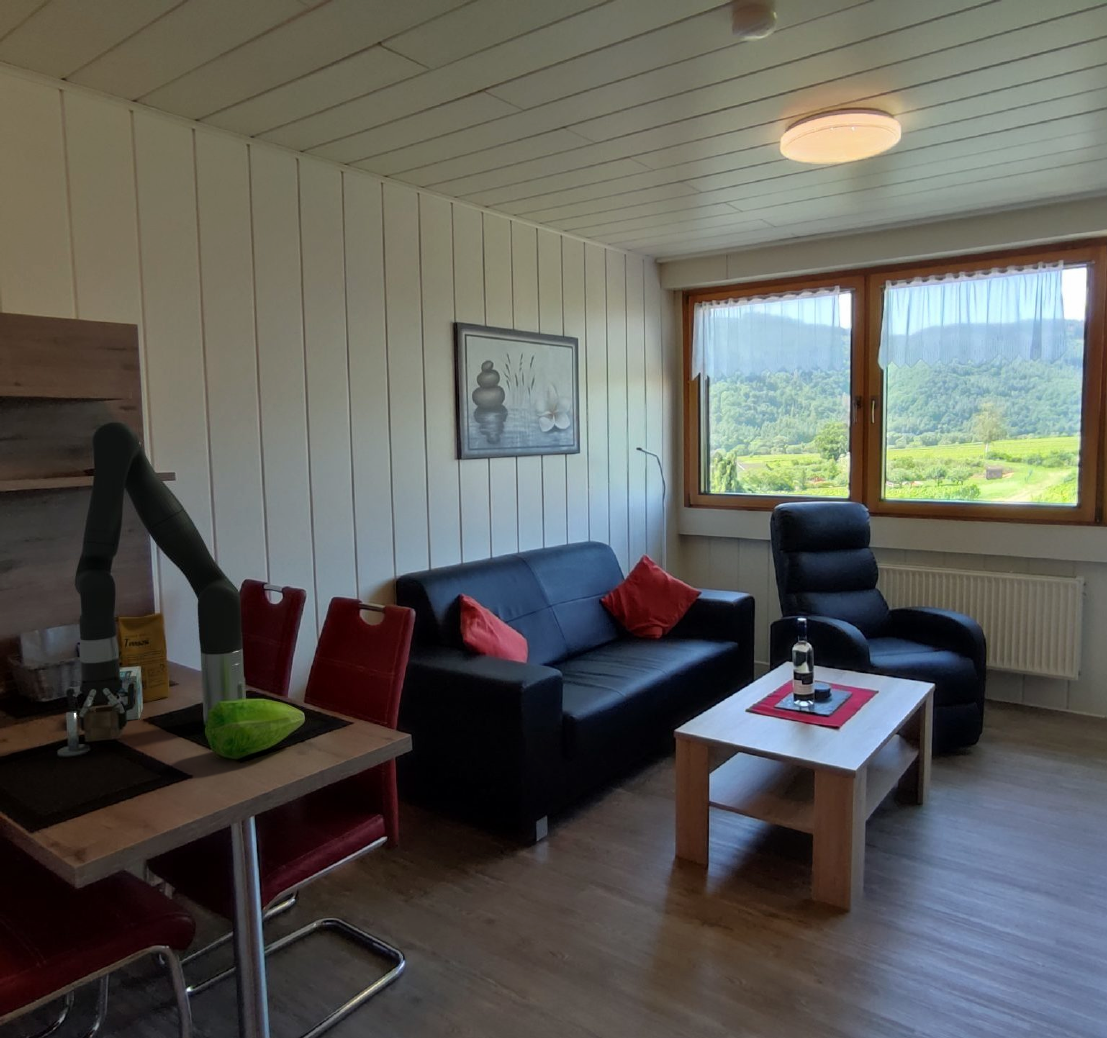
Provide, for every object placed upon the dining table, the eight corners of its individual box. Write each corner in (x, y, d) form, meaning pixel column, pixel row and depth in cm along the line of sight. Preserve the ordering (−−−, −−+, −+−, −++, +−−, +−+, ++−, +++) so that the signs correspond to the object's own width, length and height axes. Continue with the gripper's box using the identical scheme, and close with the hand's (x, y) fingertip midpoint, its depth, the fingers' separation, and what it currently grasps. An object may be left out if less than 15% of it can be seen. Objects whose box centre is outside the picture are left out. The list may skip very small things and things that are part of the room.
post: (93, 745, 182) (90, 707, 181) (85, 755, 176) (83, 715, 175) (62, 748, 180) (60, 709, 179) (53, 758, 174) (51, 718, 174)
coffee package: (114, 697, 218) (109, 614, 216) (165, 689, 225) (161, 609, 223) (118, 707, 210) (113, 621, 208) (172, 698, 216) (167, 615, 215)
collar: (123, 729, 191) (122, 703, 190) (117, 738, 184) (115, 712, 184) (92, 732, 189) (91, 706, 188) (85, 741, 183) (83, 715, 182)
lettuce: (312, 753, 175) (310, 698, 174) (210, 772, 166) (207, 714, 165) (298, 734, 187) (296, 682, 186) (202, 751, 178) (199, 696, 177)
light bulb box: (139, 719, 200) (137, 675, 199) (108, 723, 197) (105, 678, 196) (143, 707, 210) (141, 665, 209) (113, 710, 207) (111, 667, 206)
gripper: (138, 650, 191) (143, 721, 192) (68, 656, 187) (73, 728, 188) (131, 658, 184) (136, 732, 185) (58, 664, 180) (63, 739, 181)
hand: (104, 730), depth 187 cm, fingers closed on collar, 6 cm apart
